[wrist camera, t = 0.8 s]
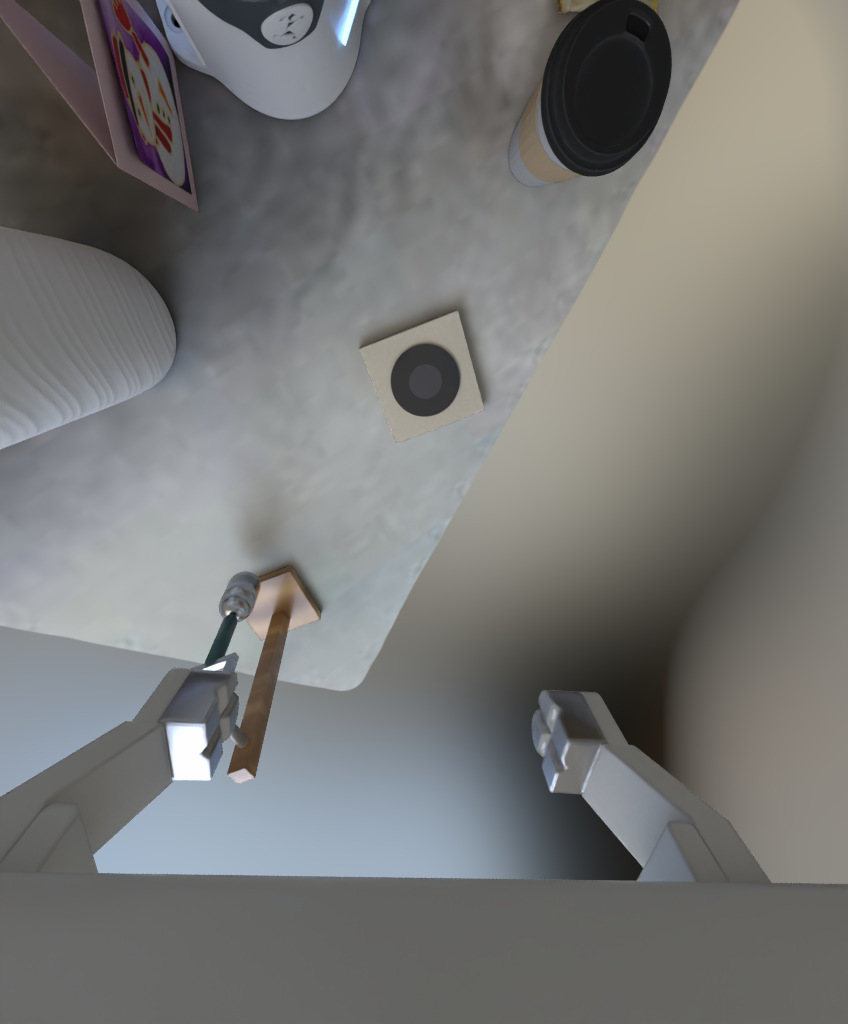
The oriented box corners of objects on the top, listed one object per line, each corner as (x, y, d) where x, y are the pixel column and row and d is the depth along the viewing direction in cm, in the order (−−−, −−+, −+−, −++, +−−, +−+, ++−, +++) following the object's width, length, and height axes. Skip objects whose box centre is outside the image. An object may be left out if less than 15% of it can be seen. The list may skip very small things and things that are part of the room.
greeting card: (208, 213, 40) (133, 169, 27) (125, 206, 39) (4, 156, 25) (183, 49, 35) (73, -107, 21) (86, 36, 33) (-92, -138, 20)
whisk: (221, 573, 55) (149, 713, 36) (259, 559, 55) (206, 692, 36) (237, 594, 57) (177, 737, 38) (273, 581, 57) (231, 718, 38)
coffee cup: (580, 81, 39) (692, -32, 26) (579, 201, 44) (673, 157, 30) (486, 98, 39) (550, -9, 25) (494, 217, 43) (552, 179, 30)
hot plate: (359, 347, 47) (358, 349, 46) (455, 310, 47) (458, 310, 45) (395, 440, 53) (396, 444, 51) (481, 407, 52) (485, 410, 51)
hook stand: (209, 562, 57) (114, 725, 35) (274, 538, 57) (219, 686, 35) (263, 634, 64) (212, 806, 42) (321, 612, 64) (300, 775, 42)
